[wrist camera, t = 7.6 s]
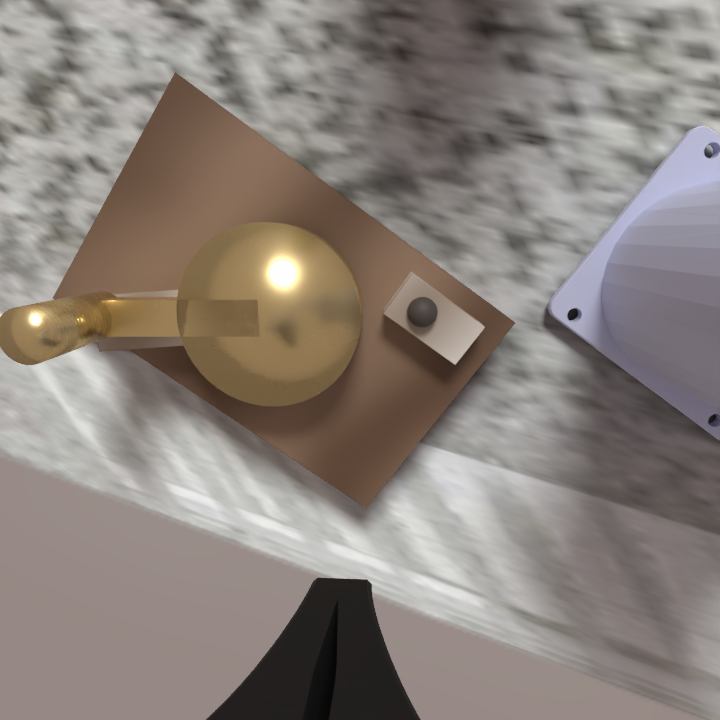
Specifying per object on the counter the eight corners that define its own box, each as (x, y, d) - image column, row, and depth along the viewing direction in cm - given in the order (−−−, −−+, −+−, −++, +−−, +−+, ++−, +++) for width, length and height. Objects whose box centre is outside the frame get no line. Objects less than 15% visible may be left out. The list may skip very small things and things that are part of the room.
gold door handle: (362, 221, 17) (352, 217, 13) (363, 393, 19) (356, 442, 14) (78, 225, 18) (-25, 222, 13) (101, 392, 19) (15, 438, 15)
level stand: (503, 314, 20) (527, 331, 16) (359, 494, 22) (353, 543, 19) (197, 89, 19) (153, 55, 15) (77, 304, 21) (14, 319, 17)
